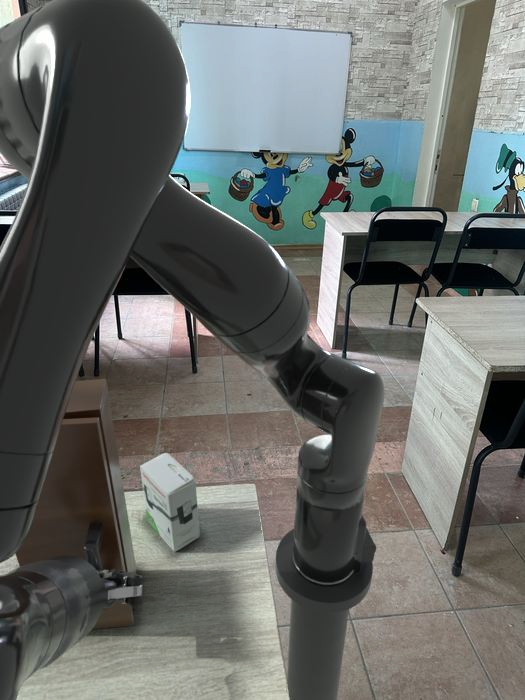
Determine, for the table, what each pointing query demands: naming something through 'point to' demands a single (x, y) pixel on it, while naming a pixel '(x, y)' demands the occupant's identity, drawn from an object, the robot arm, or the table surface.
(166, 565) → the table surface
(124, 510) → the cabinet
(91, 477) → the cabinet door
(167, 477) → the ink box
